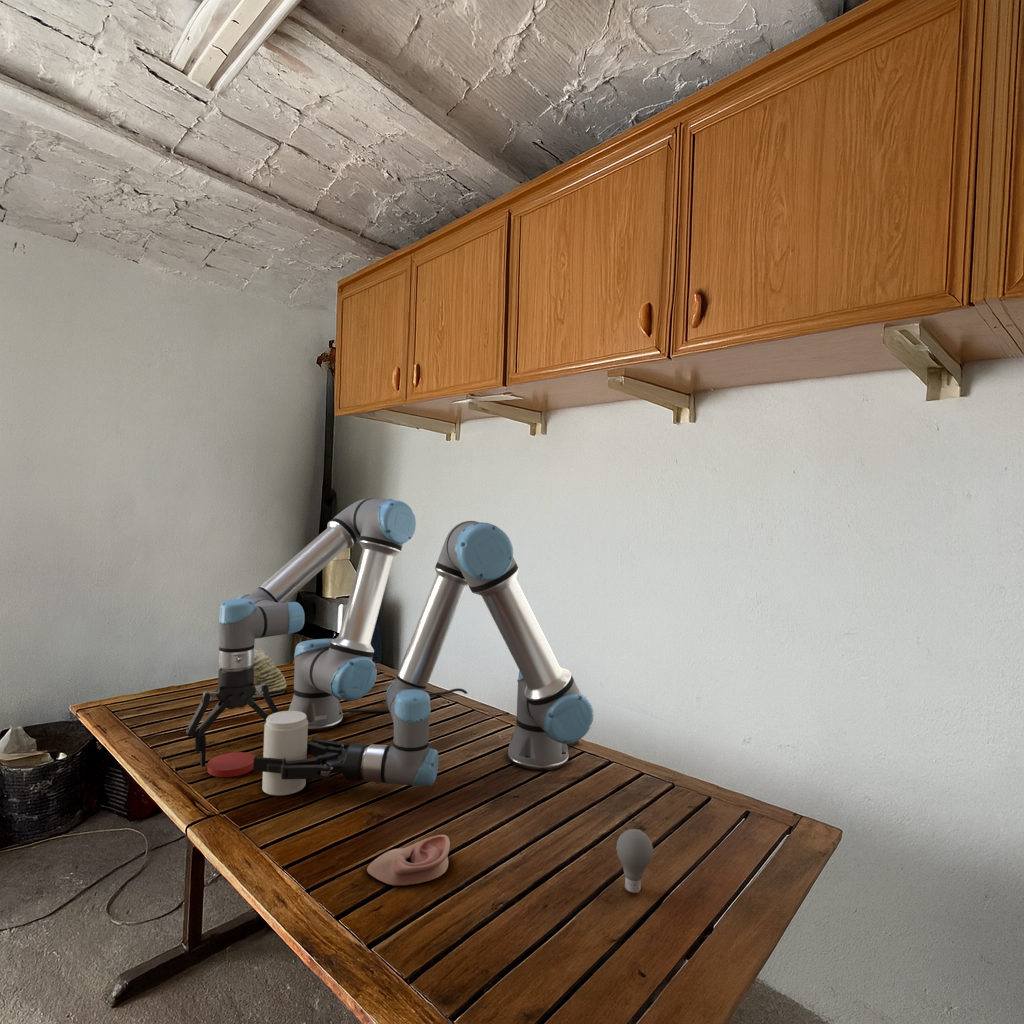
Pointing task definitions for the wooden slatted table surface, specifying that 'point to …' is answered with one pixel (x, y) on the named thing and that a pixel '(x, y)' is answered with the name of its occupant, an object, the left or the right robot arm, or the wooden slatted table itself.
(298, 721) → the jar
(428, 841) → the anatomical model
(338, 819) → the wooden slatted table surface
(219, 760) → the lid
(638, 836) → the light bulb
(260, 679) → the fossil
